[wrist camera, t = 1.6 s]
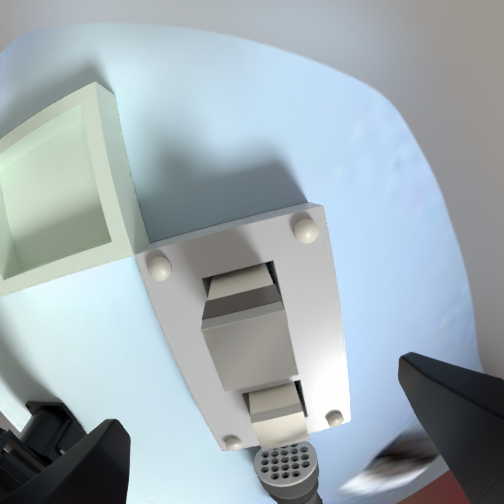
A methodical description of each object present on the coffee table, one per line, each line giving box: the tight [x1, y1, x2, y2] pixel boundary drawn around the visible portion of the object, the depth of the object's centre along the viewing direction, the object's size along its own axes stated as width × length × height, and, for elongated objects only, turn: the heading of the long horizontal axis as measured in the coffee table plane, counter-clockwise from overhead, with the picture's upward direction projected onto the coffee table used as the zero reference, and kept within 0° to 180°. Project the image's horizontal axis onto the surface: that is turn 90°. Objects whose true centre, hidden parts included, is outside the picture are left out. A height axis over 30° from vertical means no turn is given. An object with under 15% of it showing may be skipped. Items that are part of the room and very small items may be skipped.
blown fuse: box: [201, 263, 299, 392], centre depth 14 cm, size 3×3×8 cm
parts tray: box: [0, 82, 150, 296], centre depth 14 cm, size 12×10×3 cm
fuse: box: [249, 381, 309, 451], centre depth 17 cm, size 3×3×6 cm
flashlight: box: [253, 441, 323, 504], centre depth 21 cm, size 15×5×5 cm, turn 13°
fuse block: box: [135, 202, 350, 451], centre depth 17 cm, size 10×16×3 cm, turn 14°
